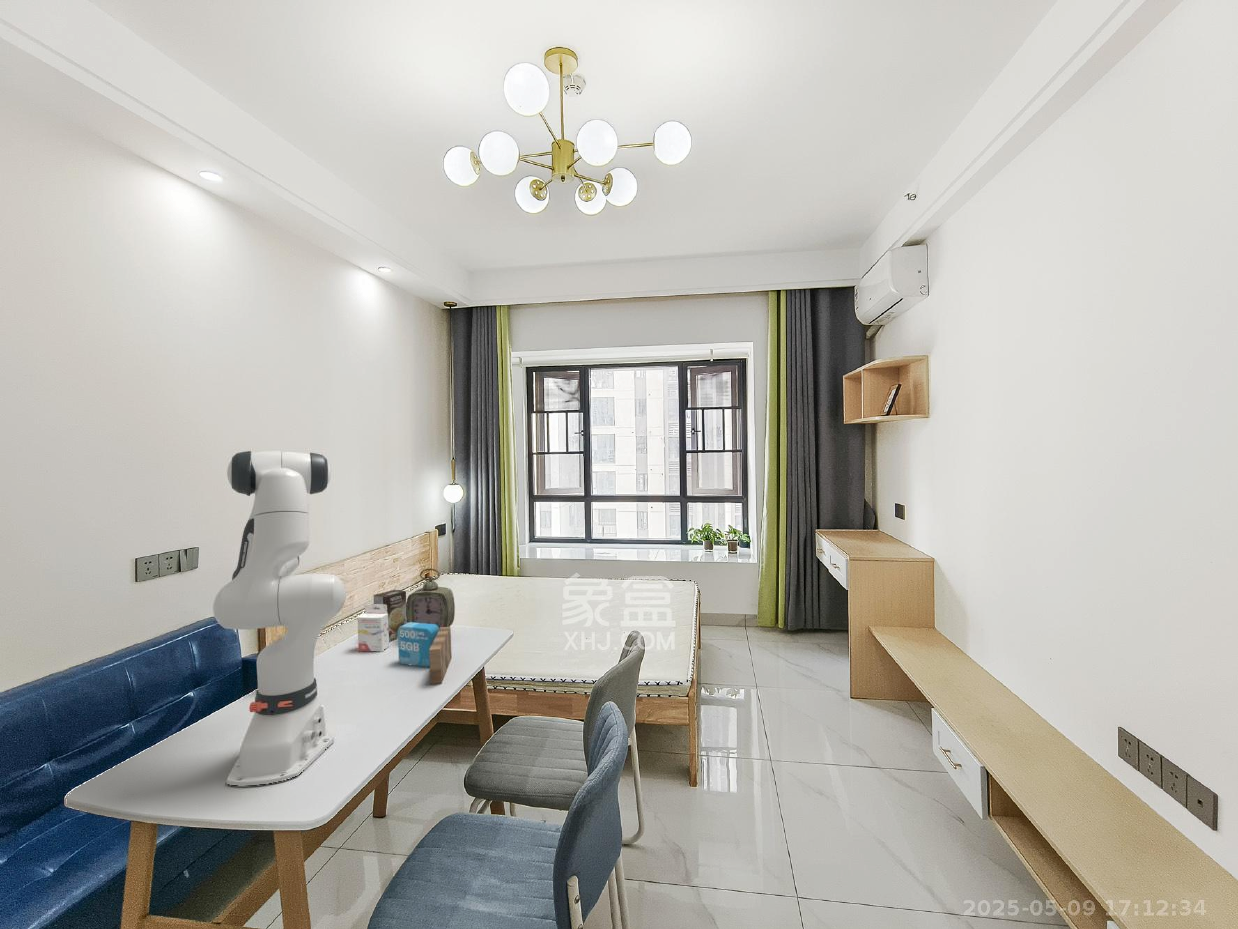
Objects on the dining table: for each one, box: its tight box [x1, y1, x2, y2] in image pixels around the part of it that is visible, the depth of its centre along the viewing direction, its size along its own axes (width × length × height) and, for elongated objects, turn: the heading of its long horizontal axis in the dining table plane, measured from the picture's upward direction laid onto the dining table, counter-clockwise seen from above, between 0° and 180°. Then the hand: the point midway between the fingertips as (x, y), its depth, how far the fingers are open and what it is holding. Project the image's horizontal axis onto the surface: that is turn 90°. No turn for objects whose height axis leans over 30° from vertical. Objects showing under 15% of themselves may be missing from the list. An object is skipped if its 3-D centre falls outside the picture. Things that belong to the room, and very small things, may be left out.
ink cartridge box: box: [357, 603, 390, 652], centre depth 193 cm, size 9×5×15 cm, turn 84°
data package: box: [397, 622, 439, 668], centre depth 180 cm, size 12×4×12 cm, turn 72°
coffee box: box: [372, 589, 407, 642], centre depth 204 cm, size 9×6×16 cm
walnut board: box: [429, 626, 453, 685], centre depth 173 cm, size 20×3×10 cm, turn 8°
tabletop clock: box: [406, 567, 456, 630], centre depth 201 cm, size 14×9×25 cm, turn 88°
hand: (324, 625), depth 175 cm, fingers closed
